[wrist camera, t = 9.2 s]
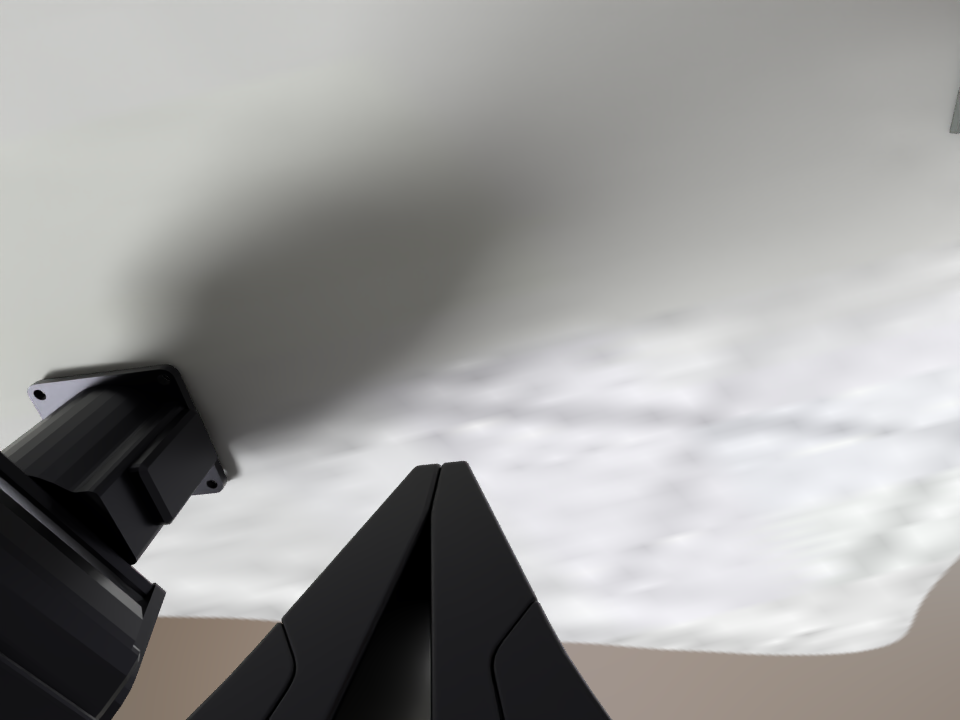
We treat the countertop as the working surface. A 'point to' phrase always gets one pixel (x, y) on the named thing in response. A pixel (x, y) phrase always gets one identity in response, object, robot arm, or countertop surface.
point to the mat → (956, 117)
